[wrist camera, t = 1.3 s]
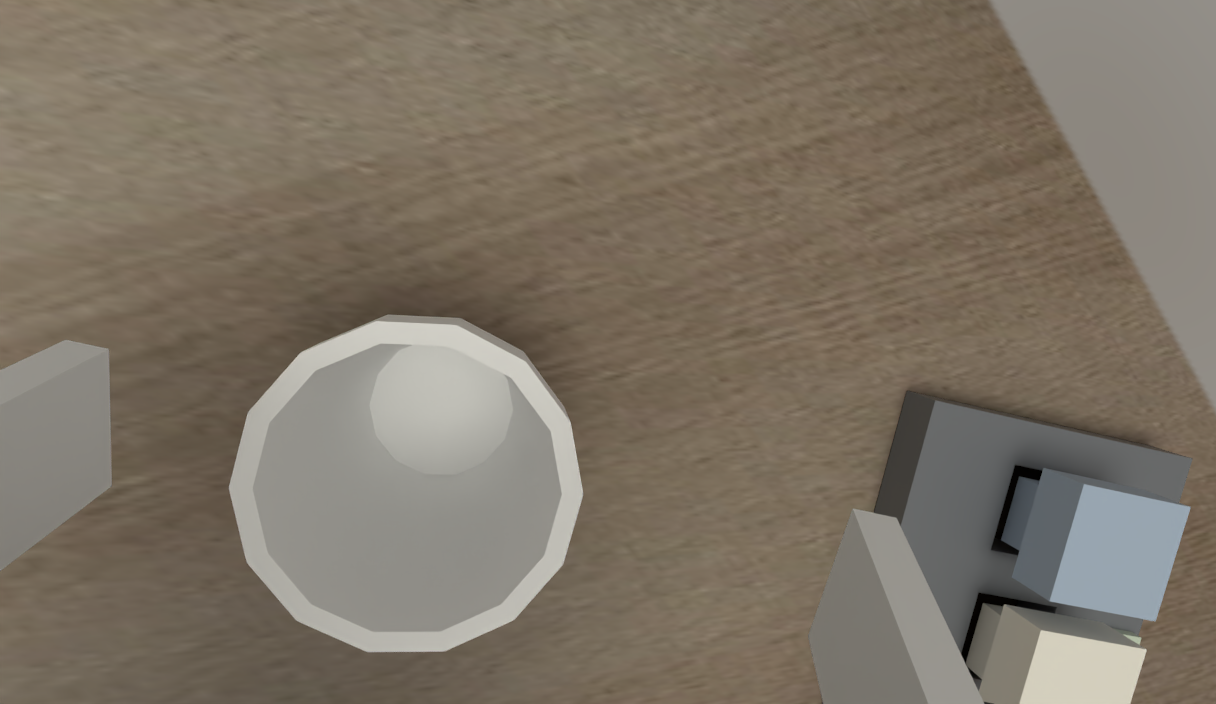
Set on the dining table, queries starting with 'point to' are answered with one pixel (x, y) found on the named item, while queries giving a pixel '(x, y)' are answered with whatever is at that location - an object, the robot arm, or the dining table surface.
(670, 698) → the dining table surface
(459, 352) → the foam cup
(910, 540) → the keypad
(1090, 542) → the key slate
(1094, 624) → the key cream
